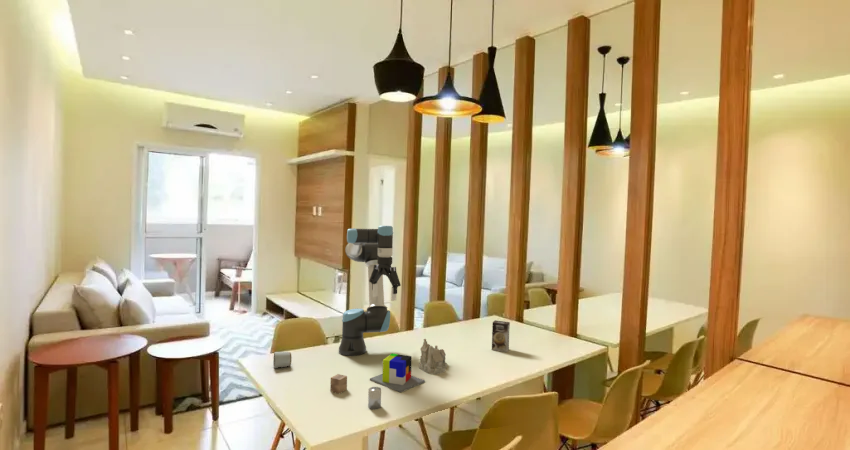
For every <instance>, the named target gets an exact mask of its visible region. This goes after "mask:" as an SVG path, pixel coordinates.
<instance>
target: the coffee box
mask: <svg viewBox="0 0 850 450" xmlns="http://www.w3.org/2000/svg"><path fill="white" fill-rule="evenodd" d="M510 324H511V322H510V321H504V320H503V321H502V320H494V321H492V326H491V327H492V330H491V331H492V332H491V334H492V337H491V351H499V352H502V353H503V352H504V353H507V352H509V349H510V328H511V327H510Z"/></svg>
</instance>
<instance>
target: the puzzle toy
mask: <svg viewBox="0 0 850 450" xmlns="http://www.w3.org/2000/svg"><path fill="white" fill-rule="evenodd" d="M382 374H383V379H382V382H387V383H393V384H399V385H403V384H404V383H406V382H407V381H408V380H409V379H410V378H411V376H412V355H407V354H406V355H405V354H398V353H390V354H389V355H388V356H386V357H385V358H383V359H382Z"/></svg>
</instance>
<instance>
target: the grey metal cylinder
mask: <svg viewBox="0 0 850 450" xmlns="http://www.w3.org/2000/svg"><path fill="white" fill-rule="evenodd" d="M367 398H368V399H367V401H368V404H367V407H368V409H370V410H374V411H375V410H380V409H381V408H382V388H381V387H379V386H372V387H369V388H368V397H367Z"/></svg>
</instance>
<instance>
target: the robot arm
mask: <svg viewBox="0 0 850 450" xmlns="http://www.w3.org/2000/svg"><path fill="white" fill-rule="evenodd" d="M346 232H347V233H346V243H347V244H346V245H345V248H344V249H345V250H344V251H345V255H346V256H347V258H348V259H350V260H352V261H353V262H357V263H364V265H365V266H366V267H367V274H368V275H367V277H368V299H369V300H368V302H369V304H368V306H367V308H366V311H365V309H363V308H351V309H348V310H345V311H344V312H343V313H342V319H341V322H342V327H341V328H342V329H341V330H342V335H341V341H340V343H339V344H340V345H339V346H338V353H339V354H340V355H343V356H347V357H348V356H351V357H352V356H360V355H363V354H365V353H366V352H367V346H366V343H365V340H364V339H365V338H364V334H365V333H382V332H384V333H385V332H387V331H388V330H389V328H390V323H391V310H388V307H387V306H386V304H385V292H384V277H383V276H386V277H387V279H388V280H389V282H390V284H391V286H392V287H391V294H390V295H391V298H390V299H391V300H390V301H391V302H393V301H394V302H395V301H397V294H398V288H399V287H401V282H400V278H399V276H398V271H397V266H392V264H393V254H394V253H393V251H394V250H393V249H394V247H393V241H394V239H393V238H394V228H393V226H392V225H378V227H377V228H348V229H347V231H346Z"/></svg>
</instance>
